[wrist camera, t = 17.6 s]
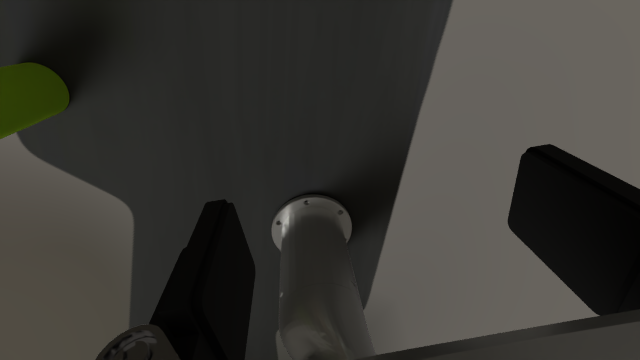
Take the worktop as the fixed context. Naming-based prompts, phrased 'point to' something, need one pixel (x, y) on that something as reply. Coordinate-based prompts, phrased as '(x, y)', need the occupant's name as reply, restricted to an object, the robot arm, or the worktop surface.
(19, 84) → the soap dispenser
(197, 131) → the worktop surface
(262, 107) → the worktop surface
